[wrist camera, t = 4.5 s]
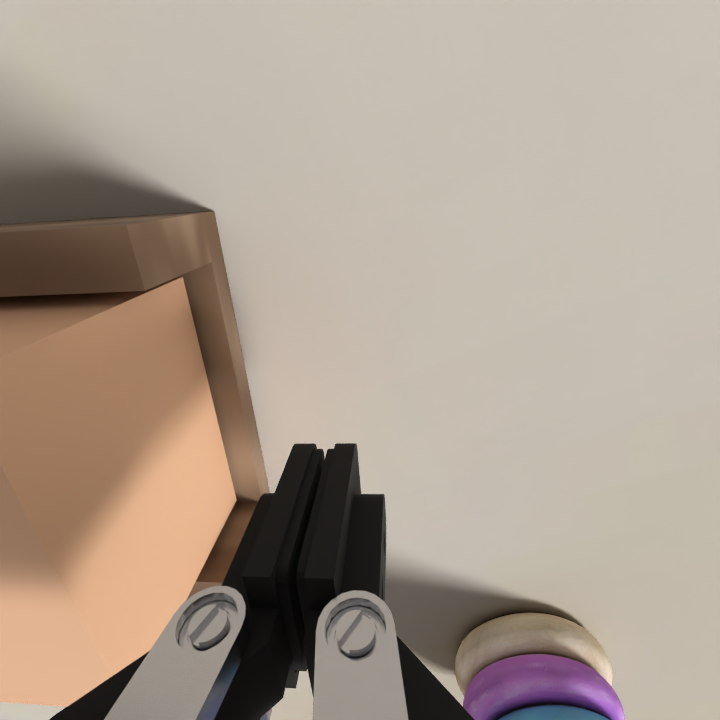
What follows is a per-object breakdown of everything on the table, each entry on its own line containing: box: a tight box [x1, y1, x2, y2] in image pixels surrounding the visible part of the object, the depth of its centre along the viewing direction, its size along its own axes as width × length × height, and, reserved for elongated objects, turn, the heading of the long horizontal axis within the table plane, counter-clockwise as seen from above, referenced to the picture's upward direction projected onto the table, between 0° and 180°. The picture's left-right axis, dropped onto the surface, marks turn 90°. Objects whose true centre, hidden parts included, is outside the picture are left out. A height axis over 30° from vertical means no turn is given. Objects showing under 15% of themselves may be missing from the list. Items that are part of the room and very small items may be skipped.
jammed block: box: [0, 277, 237, 707], centre depth 13 cm, size 10×8×8 cm
